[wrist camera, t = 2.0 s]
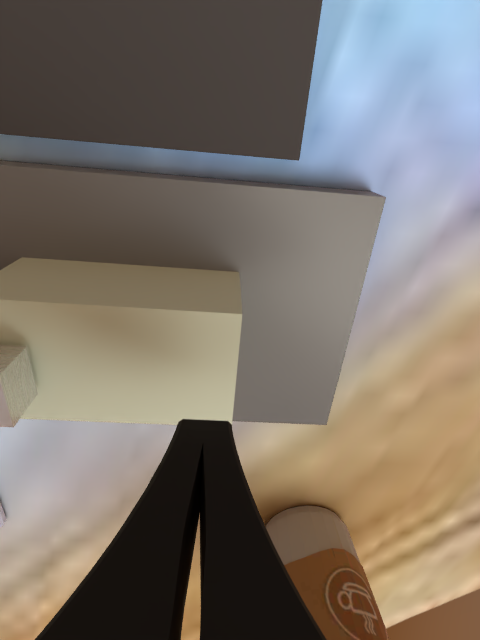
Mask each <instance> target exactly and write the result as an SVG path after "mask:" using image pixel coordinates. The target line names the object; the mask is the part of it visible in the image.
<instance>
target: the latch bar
mask: <svg viewBox="0 0 480 640" xmlns="http://www.w3.org/2000/svg"><path fill="white" fill-rule="evenodd" d="M37 394H38V393H37V388H36V384H35V380H34V375H33V371H32V367H31V363H30V358H29V354H28V350H27V346H13V345H0V427H14V426H15V425H16V423H17V422H18V420H19V419H20V418H21V416H22V415H23V414H24V412H25V411H26V410H27V408H28V407H29V405H30V404H31V403H32V401H33V400H34V399H35V397H36V396H37Z"/></svg>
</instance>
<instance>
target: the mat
mask: <svg viewBox="0 0 480 640" xmlns="http://www.w3.org/2000/svg"><path fill="white" fill-rule="evenodd" d="M321 6H322V0H0V134H7V135H18V136H29V137H40V138H52V139H63V140H74V141H85V142H97V143H108V144H119V145H130V146H142V147H153V148H164V149H175V150H187V151H198V152H209V153H220V154H232V155H243V156H254V157H265V158H277V159H288V160H299V157H300V150H301V143H302V137H303V130H304V123H305V116H306V109H307V102H308V95H309V89H310V82H311V75H312V68H313V61H314V54H315V47H316V41H317V34H318V27H319V20H320V13H321Z"/></svg>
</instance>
